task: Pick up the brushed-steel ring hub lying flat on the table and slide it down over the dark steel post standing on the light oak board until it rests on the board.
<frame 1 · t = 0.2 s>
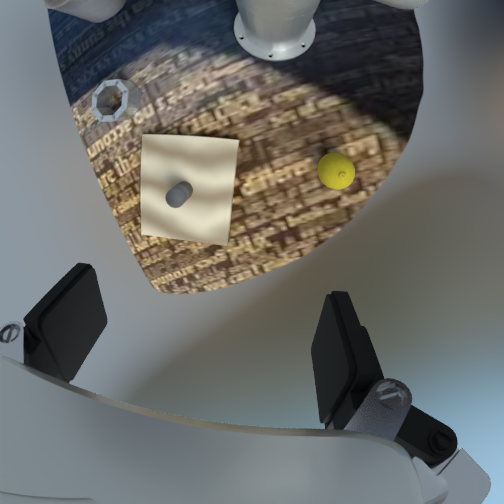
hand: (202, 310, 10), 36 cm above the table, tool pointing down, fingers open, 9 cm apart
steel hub: (123, 101, 38), on the table
post board: (186, 188, 45), on the table
lemon: (329, 166, 42), on the table
pillar candle: (106, 3, 28), on the table
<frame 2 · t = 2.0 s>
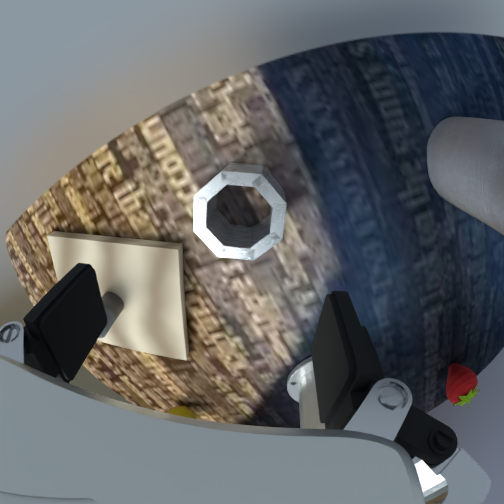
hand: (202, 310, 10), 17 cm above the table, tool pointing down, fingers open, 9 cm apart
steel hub: (244, 200, 25), on the table
post board: (118, 295, 31), on the table
lemon: (185, 405, 42), on the table
strawberry: (450, 364, 35), on the table
pillar candle: (456, 159, 22), on the table
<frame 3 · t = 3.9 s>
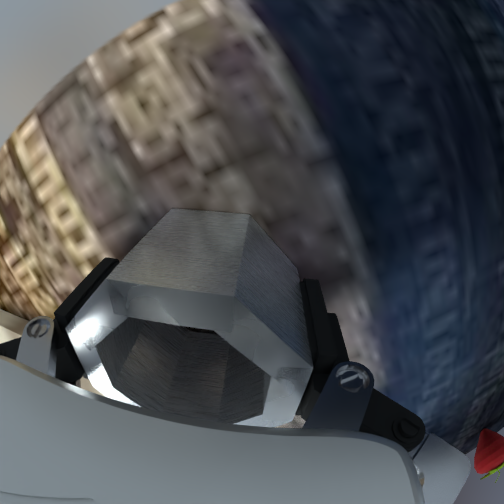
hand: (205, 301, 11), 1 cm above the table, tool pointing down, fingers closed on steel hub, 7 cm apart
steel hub: (208, 290, 12), on the table, touching gripper
post board: (53, 383, 17), on the table
strawberry: (481, 429, 22), on the table
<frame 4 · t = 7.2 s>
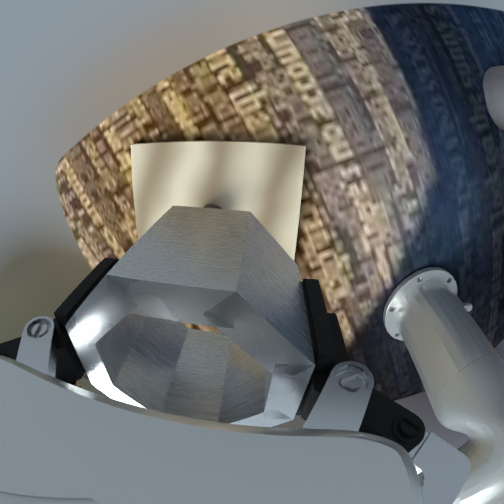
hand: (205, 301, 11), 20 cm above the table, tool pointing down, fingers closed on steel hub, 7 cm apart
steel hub: (209, 288, 11), point 19 cm above the table, touching gripper
post board: (214, 213, 30), on the table
pillar candle: (501, 98, 20), on the table
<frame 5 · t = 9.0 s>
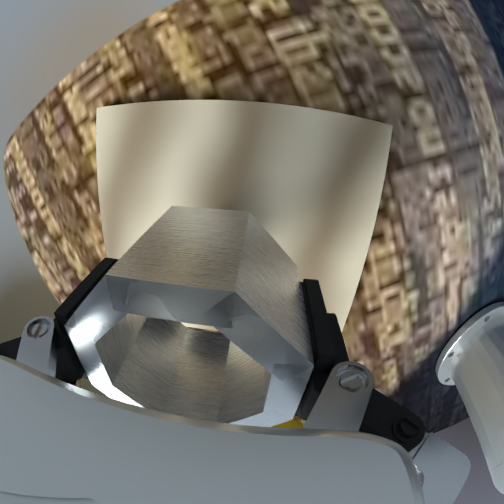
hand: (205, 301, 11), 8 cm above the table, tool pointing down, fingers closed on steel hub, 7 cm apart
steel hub: (208, 288, 11), point 8 cm above the table, touching gripper
post board: (231, 225, 18), on the table
when the fingers open (4 cm above the table, at t = 10.5 s): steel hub drops 2 cm, resting on post board.
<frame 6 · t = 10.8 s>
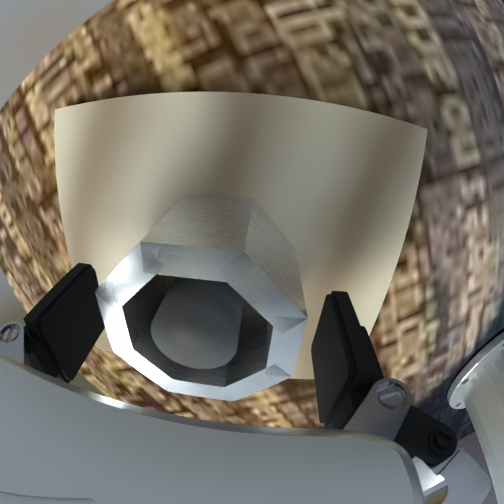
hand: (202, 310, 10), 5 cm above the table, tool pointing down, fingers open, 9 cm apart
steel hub: (217, 267, 13), point 1 cm above the table, touching post board
post board: (221, 253, 15), on the table
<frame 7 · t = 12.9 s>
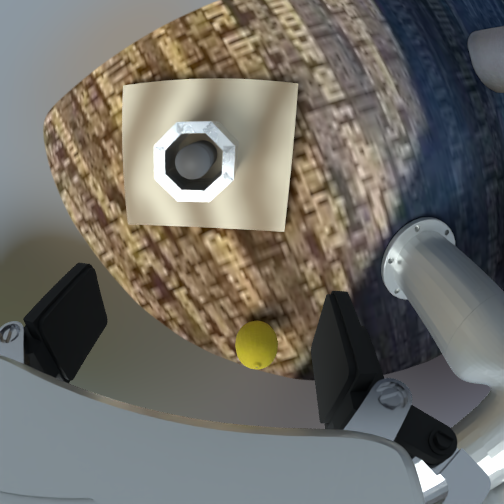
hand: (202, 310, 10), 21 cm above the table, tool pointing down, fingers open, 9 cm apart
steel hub: (203, 154, 26), point 1 cm above the table, touching post board
post board: (205, 152, 28), on the table
lemon: (256, 323, 39), on the table
pillar candle: (486, 60, 19), on the table
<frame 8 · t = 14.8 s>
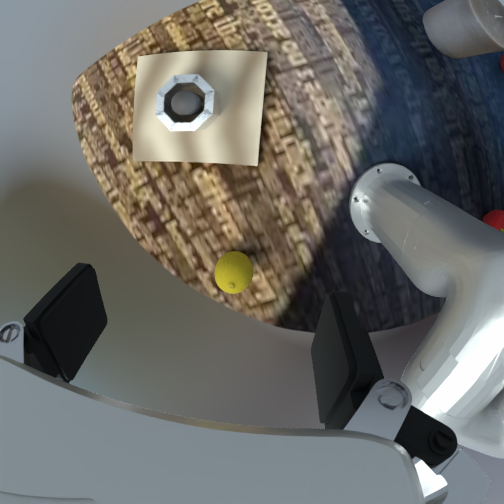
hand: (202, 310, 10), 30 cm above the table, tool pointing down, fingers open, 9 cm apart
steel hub: (194, 104, 32), point 1 cm above the table, touching post board
post board: (196, 105, 33), on the table
lemon: (236, 258, 44), on the table
strawberry: (482, 218, 38), on the table
pillar candle: (444, 32, 24), on the table
onion: (501, 68, 24), on the table
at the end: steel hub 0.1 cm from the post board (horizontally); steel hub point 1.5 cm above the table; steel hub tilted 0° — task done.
